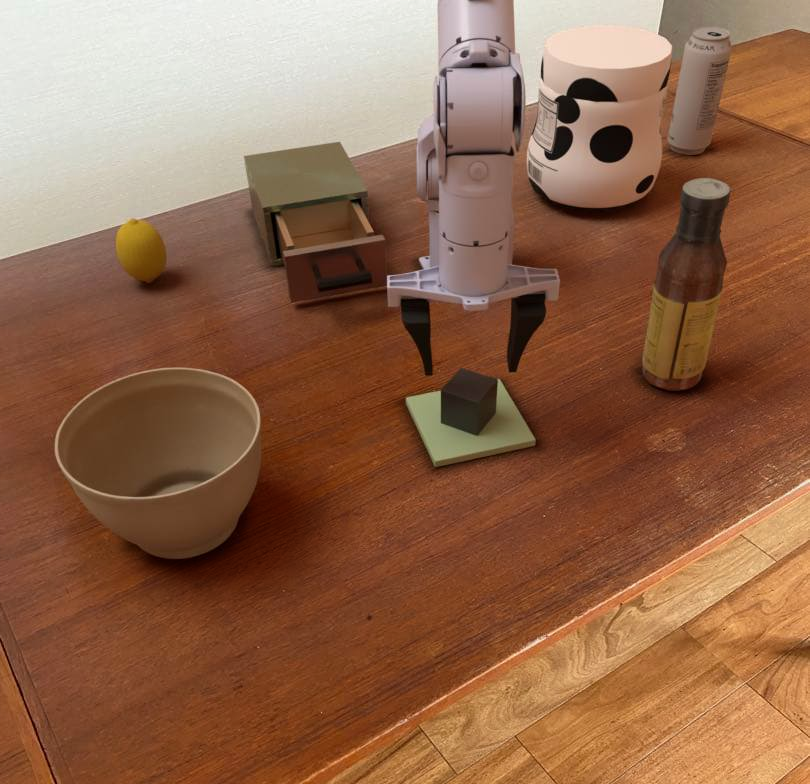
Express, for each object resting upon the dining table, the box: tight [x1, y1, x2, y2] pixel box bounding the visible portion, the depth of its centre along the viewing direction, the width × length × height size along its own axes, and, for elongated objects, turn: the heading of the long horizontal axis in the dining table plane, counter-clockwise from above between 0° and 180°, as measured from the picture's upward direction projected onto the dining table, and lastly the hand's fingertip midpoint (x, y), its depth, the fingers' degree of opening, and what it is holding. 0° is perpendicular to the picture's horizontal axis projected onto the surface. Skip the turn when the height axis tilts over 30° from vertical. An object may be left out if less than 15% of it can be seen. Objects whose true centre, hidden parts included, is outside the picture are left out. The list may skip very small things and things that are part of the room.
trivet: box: [405, 378, 537, 468], centre depth 84 cm, size 10×10×1 cm
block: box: [440, 367, 498, 436], centre depth 83 cm, size 4×4×4 cm
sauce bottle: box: [641, 177, 731, 392], centre depth 82 cm, size 7×6×20 cm
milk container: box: [526, 24, 673, 212], centre depth 110 cm, size 17×17×18 cm
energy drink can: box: [667, 26, 733, 156], centre depth 120 cm, size 6×6×15 cm
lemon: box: [115, 217, 167, 284], centre depth 101 cm, size 6×6×8 cm
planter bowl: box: [54, 367, 262, 560], centre depth 73 cm, size 16×16×11 cm
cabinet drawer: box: [272, 199, 388, 303], centre depth 101 cm, size 18×11×6 cm, turn 16°
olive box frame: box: [243, 141, 371, 267], centre depth 109 cm, size 15×13×8 cm
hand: (470, 367), depth 80 cm, fingers open, 7 cm apart
